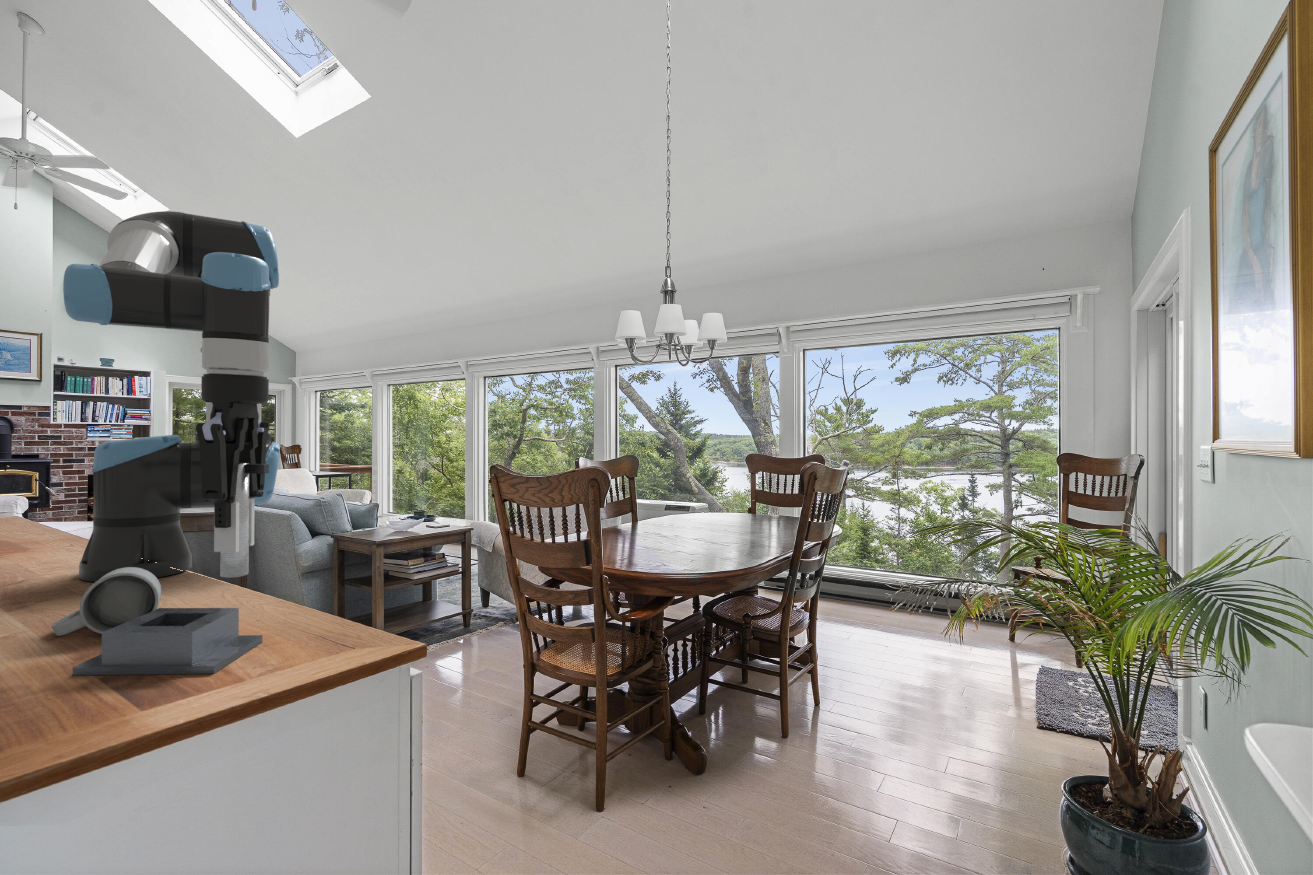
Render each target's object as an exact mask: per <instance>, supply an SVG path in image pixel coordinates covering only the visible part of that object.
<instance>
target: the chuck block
mask: <svg viewBox="0 0 1313 875" xmlns="http://www.w3.org/2000/svg"><path fill="white" fill-rule="evenodd" d="M239 610H240V608H239V607H158V608H157V609H156V610H154V611H151V612H149V613H147V614H144V615H142V616H140V617H137V618H135V619H133V620H130V621H128V622H126V623H123V624H121V625H119V626H116V627H114V628H112V629H109V630H107V631H105V632H102V634H101V654H98V655H96V656H94V657H92V658H90V659H88V660H86V661H84V662H81V663H79V664H77V665H75V666H73V667H72V669H71V670H72V676H121V675H123V676H124V675H126V676H127V675H130V676H131V675H134V676H135V675H139V676H140V675H210V674H211V675H213V674H214V675H215V674H216V673H217V672H218V671H220V670H222V669H223V668H224V667H227V666H229V665H230V664H231V663H233V662H234V661H236V660H237V659H239V658H240V657H242V656H243V655H245V654H246V653H248V652H249V651H251V650H252V649H255V647H256V646H257V647H258V645H260V644H261V643H263V634H262V635H260V634H257V635H256V634H255V635H254V634H251V635H249V634H248V635H247V634H245V635H239V632H240V630H239V628H240V627H239V626H240V625H239V623H240V622H239V620H240V615H239V614H240V611H239Z"/></svg>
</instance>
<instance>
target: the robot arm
mask: <svg viewBox="0 0 1313 875" xmlns="http://www.w3.org/2000/svg"><path fill="white" fill-rule="evenodd" d="M106 244H107V250H108V252H107V253H106V254H105V256H104V258H102V261H101V263H99V265H98V264H97V263H96V264H95V263H91V264H84V263H83V264H82V263H72V264H70V265H68V266H67V267H66V269H65V271H64V274H63V281H62V282H63V285H62V286H63V288H62V289H63V290H62V291H63V302H64V306H65V307H64V308H65V311H66V314H67V315H68V316H69V317H70V319H72V320H74V321H77V322H83V323H84V322H85V323H93V324H99V325H101V326H108V325H109V326H110V325H111V326H123V327H125V326H126V327H137V328H138V327H139V328H150V329H151V328H154V329H168V330H176V331H178V330H179V331H190V332H192V331H193V332H201V338H202V342H201V345H202V346H201V348H200V352H201V367H202V369H204V370H206V373H203V376H201V383H200V384H201V394H200V398H201V400H202V401H203V402H205V404H206V405H205V406H206V407H205V408H206V409H205V412H206V413H205V416H206V417H205V420H206V421H205V423H202V422H198V423H197V424H196V426H195V431H196V432H195V442H182V438H181V437H180V435H178V434H170V435H169V434H167V435H155V436H154V435H153V436H146V437H136V438H128V439H127V438H125V439H117V440H110V441H105V442H102V443H100V444H98V445H97V446H96V447H95V450H94V452H93V464H92V465H93V466H92V469H91V473H93V474H92V485H93V488H92V489H93V495H92V496H93V500H92V502H93V505H92V507H93V508H92V510H93V511H92V518H93V519H92V521H93V522H92V532H91V535H90V537H89V540H88V542H87V544H86V547H85V550H84V552H83V554H82V557H81V560H80V562H79V565H78V578H79V580H81V581H84V582H94V583H95V582H96V581H98V580H99V579H100V578H102V577H103V576H104V575H106V574H107V573H109V572H112V571H114V570H116V569H120V568H126V567H136V568H141V569H144V570H147V571H149V572H151V573H152V574H153V575H154V576H155V577H156V578H157V579H158V578H163V577H169V576H172V575H176V574H179V573H183V572H186V571H188V570H190V569H191V568H192V566H193V556H192V552H191V550H190V547H189V544H188V542H187V539H186V537H185V534H184V532H183V530H182V527H181V520H180V519H181V510H184V509H185V510H186V509H206V508H213V509H214V511H213V514H214V515H213V518H214V519H213V526H214V527H213V532H214V533H213V552H214V553H220V552H238V551H239V502H234V501H235V495H236V484H237V474H238V463H249V464H269V473H266V474H252V473H249V547H252V546H254V545H255V515H256V512H255V509H256V508H255V506H259V505H260V506H261V505H264V504H267V503H268V502H269V501H270V500H271V499H272V497H273V495H274V491H275V485H276V481H277V474H278V467H279V460H280V450H281V445H280V444H279V443H278V442H276V441H272V437H271V436H272V433H271V432H270V431H269V430H270V427H271V426H270V422H269V421H268V420H267V421H264V420H262V405H263V404H267V403H268V402H269V396H270V394H269V393H270V392H269V384H270V382H269V380H270V379H268V377H267V376H265V373H268V372H269V371H270V342H269V341H270V340H269V339H270V338H269V332H270V331H269V327H270V326H269V324H270V297H271V290H273V289H277V288H278V287H279V283H280V274H279V262H278V261H279V260H278V252H277V247H276V243H275V238H274V235H273V234H272V232H271V231H270V229H268V228H267V227H265V226H263V225H259V224H258V225H257V224H253V223H248V222H246V221H242V220H241V221H237V220H230V219H223V218H217V217H210V216H204V215H200V214H199V215H198V214H192V213H186V212H180V211H171V210H170V211H169V210H166V211H165V210H164V211H153V212H146V213H141V214H137V215H134V216H131V217H127V218H126V219H123V220H122V221H120V222H118V223H117V224H116V225H115V226H114V227H113V228H112V229H111V231H110V232H109V234H108V238H107V243H106ZM271 441H272V442H271ZM141 558H143V559H141ZM148 560H149V561H148ZM155 562H157V563H155ZM170 567H173V568H176V569H172V568H170ZM177 569H180V570H183V571H180V570H177Z"/></svg>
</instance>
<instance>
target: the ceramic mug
mask: <svg viewBox="0 0 1313 875" xmlns="http://www.w3.org/2000/svg"><path fill="white" fill-rule="evenodd" d="M161 598H162V586H161V583H160V581H159V579H158V577H157V578H156V577H155V576H154V575H153V574H152V573H151V572H149V571H147V570H144V569H141V568H136V567H126V568H120V569H116V570H114V571H112V572H109V573H107V574H106V575H104V576H103V577H102V578H100V579H99V580H98V581H96V582H94V583H92V584H91V585H90V586H89V587H88V588H87V589H86V591H85V592H84V594H82V597H81V600H80V603H79V609H78V610H76V611H74V612H72V613H70V614H68V615H66V616H64V617H62V618H60V619H59V620H57V621H55V622H54V623H53V624H52V625H51V629H52V630H53V632H54V634H55V636H58V637H61V636H62V637H63V636H65V635H67V634H70V633H72V632H75V631H78V630H80V629H82V628H85V627H87V628H88V629H89V630H90V631H93V632H94V633H95V634H96V633H97V634H99V635H102V632H105V631H107V630H109V629H112V628H114V627H116V626H119V625H121V624H123V623H126V622H128V621H130V620H133V619H135V618H137V617H140V616H142V615H144V614H147V613H149V612H151V611H154V610H156V609H158V608H159V604H160V600H161Z"/></svg>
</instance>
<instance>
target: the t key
mask: <svg viewBox="0 0 1313 875" xmlns="http://www.w3.org/2000/svg"><path fill="white" fill-rule="evenodd" d="M249 473H252V474H266V473H269V464H249V463H238V474H237V484H236V495H235V501H234V502H239V551H238V552H219V553H220V554H219V555H220V556H219V557H220V558H219V559H220V561H219V562H220V563H219V566H220V567H219V569H220V570H219V571H220V572H219V574H220V575H219V576H220V577H221V578H230V579H231V578H239V577H245V576H247V575H249V562H250V561H249V559H250V558H249V557H250V556H249V551H250V550H249V549H250V548H249V547H250V546H249Z"/></svg>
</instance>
